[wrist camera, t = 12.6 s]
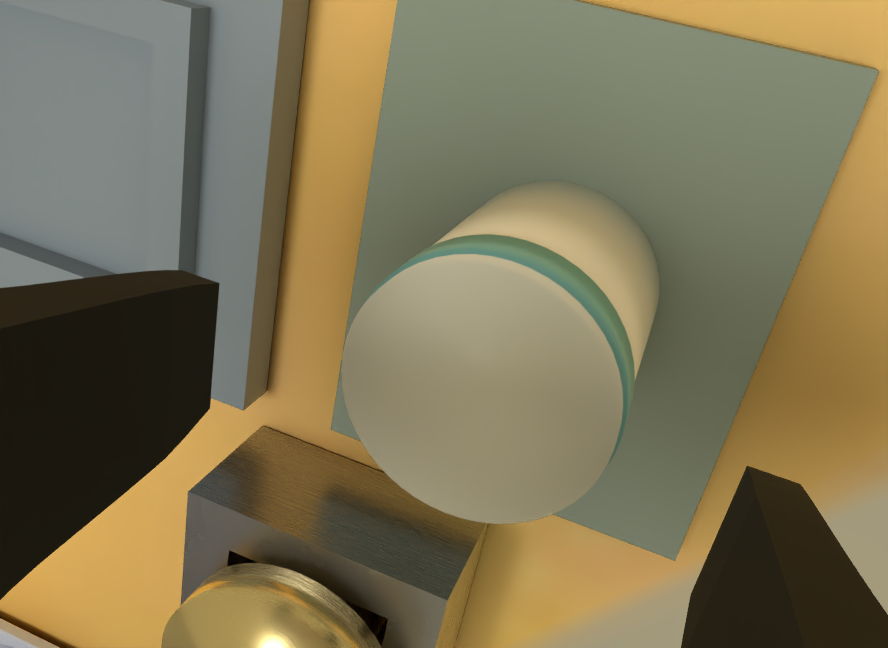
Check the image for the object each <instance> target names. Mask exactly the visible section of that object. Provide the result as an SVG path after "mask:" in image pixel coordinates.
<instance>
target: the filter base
mask: <svg viewBox="0 0 888 648" xmlns="http://www.w3.org/2000/svg"><path fill="white" fill-rule="evenodd" d="M308 7H309V0H0V288H5V287H15V286H25V285H33V284H41V283H49V282H57V281H65V280H73V279H80V278H88V277H97V276H105V275H113V274H122V273H131V272H142V271H156V270H183V271H186V272H189V273H192V274H194V275H197V276H200V277H203V278H206V279H209V280H212V281H215V282H218V283H220V284H219V297H218V310H217V322H216V335H215V348H214V361H213V374H212V387H211V398H213V399H215V400H218V401H220V402H223V403H226V404H228V405H231V406H233V407H236V408H239V409H241V410H244V409H246V408H247V407H248V406H249V405H250V404H252V403H253V402H254V401H255V400H256V399H258V398H259V397H260V396H261V395H263V394H264V393H265V392H266V389H267V380H268V371H269V362H270V352H271V343H272V334H273V325H274V316H275V307H276V298H277V289H278V280H279V271H280V262H281V253H282V243H283V234H284V225H285V216H286V207H287V198H288V189H289V180H290V171H291V162H292V153H293V144H294V135H295V125H296V116H297V107H298V98H299V89H300V80H301V71H302V62H303V53H304V44H305V35H306V26H307V16H308Z"/></svg>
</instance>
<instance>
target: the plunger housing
mask: <svg viewBox="0 0 888 648" xmlns="http://www.w3.org/2000/svg"><path fill="white" fill-rule="evenodd" d="M487 527H488V523H483V522H476V521H471V520H467V519H462V518H459V517H456V516H453V515H450V514H447V513H444V512H442V511H440V510H438V509H436V508H433V507H431V506H429V505H427V504H426V503H424V502H422V501H420V500H419V499H417V498H415V497H414V496H412V495H411V494H410V493H408V492H407V491H406V490H404V489H403V488H401V487H400V486H399V485H398V484H397V483H396V482H394V481H393V480H392V479H391V478H390V477H389V476H388V475H387V474H385V473H383V472H380V471H378V470H375V469H373V468H370V467H367V466H365V465H362V464H360V463H357V462H355V461H352V460H349V459H347V458H344V457H342V456H339V455H336V454H334V453H331V452H329V451H326V450H324V449H321V448H318V447H316V446H313V445H311V444H308V443H306V442H303V441H300V440H298V439H295V438H293V437H290V436H288V435H285V434H282V433H280V432H277V431H275V430H272V429H270V428H267V427H264V426H262V427H260V428H259V429H258V430H257V431H256V432H255V433H254V434H253V435H251V436H250V437H249V438H248V439H247V440H246V441H245V442H244V443H242V444H241V445H240V446H239V447H238V448H237V449H236V450H235V451H233V452H232V453H231V454H230V455H229V456H228V457H227V458H226V459H224V460H223V461H222V462H221V463H220V464H219V465H218V466H217V467H215V468H214V469H213V470H212V471H211V472H210V473H209V474H208V475H206V476H205V477H204V478H203V479H202V480H201V481H200V482H199V483H197V484H196V485H195V486H194V487H193V488H192V489H191V490H190V491H188V502H187V517H186V533H185V548H184V564H183V579H182V595H181V605H182V604H183V603H184V602H185V601H186V600H187V599H188V598H189V597H190V596H191V594H192V593H193V592H194V591H195V590H196V589H197V588H198V587H199V586H200V585H201V584H202V583H203V582H204V580H205V579H206V578H208V577H209V576H210V575H212V574H213V573H214V572H216V571H218V570H220V569H222V568H225V567H228V566H232V565H236V564H243V563H261V564H268V565H274V566H278V567H282V568H286V569H289V570H291V571H294V572H297V573H300V574H302V575H304V576H306V577H308V578H310V579H312V580H314V581H316V582H317V583H319V584H321V585H322V586H324V587H326V588H327V589H329V590H330V591H331V592H333V593H334V594H335V595H337V596H338V597H340V598H341V599H343V600H346V601H348V602H350V603H353V604H355V605H357V606H359V607H362V608H364V609H366V610H369V611H371V612H373V613H376V614H378V615H380V616H383V617H385V618H387V619H388V621H387V626H386V630H385V635H384V634H382V633H380V632H379V633H378V635H377V636H376V639H377V640H378V642H379V644H380V645H381V647H382V648H454V646H455V643H456V639H457V636H458V632H459V628H460V625H461V621H462V617H463V614H464V610H465V606H466V603H467V599H468V596H469V592H470V588H471V585H472V581H473V577H474V574H475V570H476V567H477V563H478V559H479V556H480V552H481V548H482V545H483V541H484V538H485V534H486V530H487Z"/></svg>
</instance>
